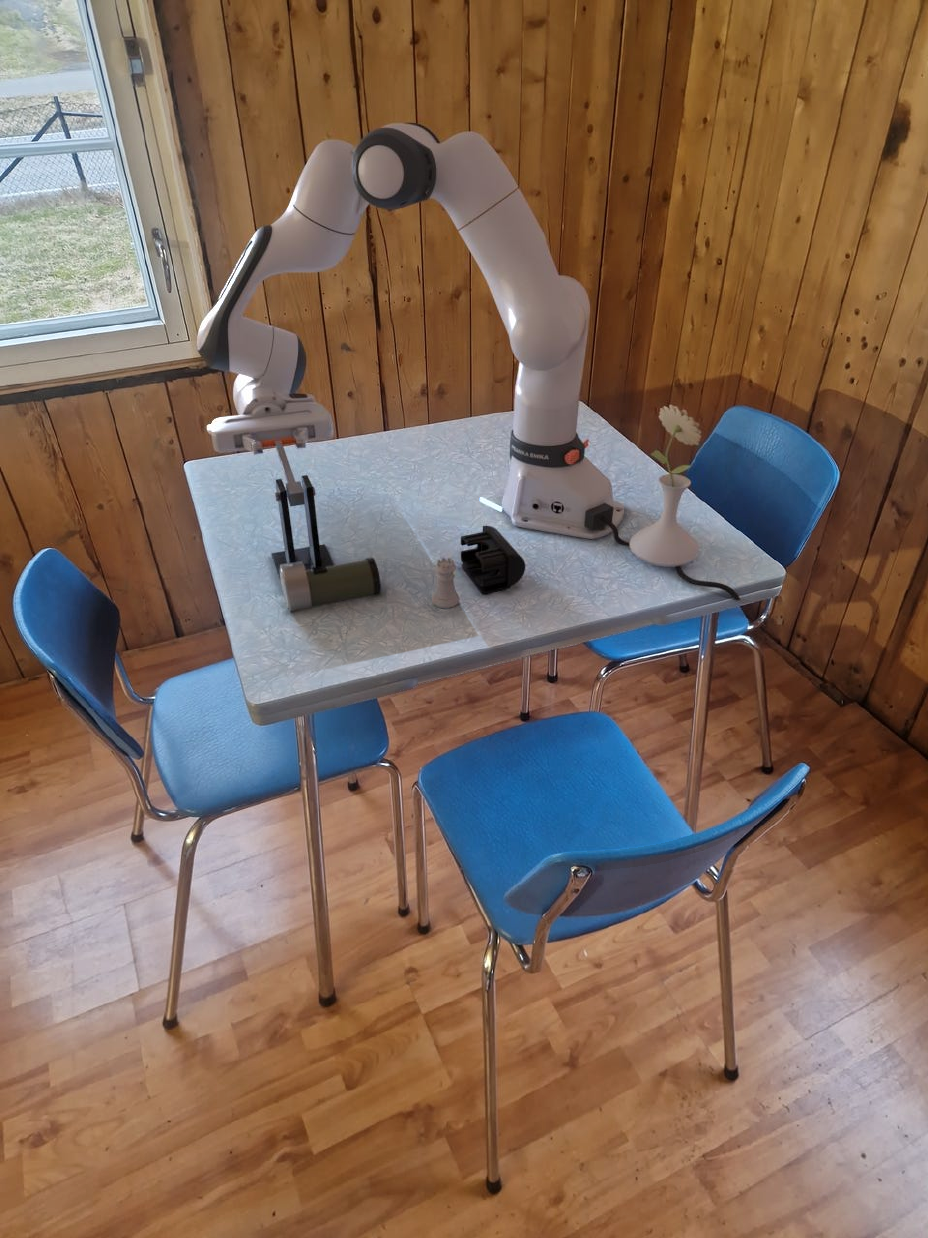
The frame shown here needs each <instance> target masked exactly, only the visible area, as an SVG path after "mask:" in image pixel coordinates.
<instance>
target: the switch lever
mask: <svg viewBox="0 0 928 1238" xmlns="http://www.w3.org/2000/svg"><path fill="white" fill-rule="evenodd" d="M295 443H296V441H295V438H294V437H291V438H283V439H276V440H268V441H261V444H262V449H265V448H266V449H267V448H275V450H276V453H277V456H278V459H279V462H280V465H281V468H282V471H283V474H284V477H285V481H286V483H285V489H286V491H287V499H288V504H289V506H290V507H296V506H303V505H304V504H305V502H304V492H303V488H302V482H301V481H300V480H299V481H298V480H297V481H296V479H295V476H294V474H293V471H292V468H291V465H290V462H289V458H288V456H287V453H286V450H285V447H284V446H288V445H289V446H290V445H295ZM304 506H305V505H304Z"/></svg>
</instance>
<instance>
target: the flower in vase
mask: <svg viewBox="0 0 928 1238" xmlns="http://www.w3.org/2000/svg"><path fill="white" fill-rule="evenodd" d="M659 410H660V411H659V413H658V414H659V415H658V419H659V421H661V424H662V426H663V427H664V428H665V430H666V432H668V433H669V434H670V436H671V437H670V440H669V442H668V444H667V447H666V451H665V455H663V453H661V452H660V450H657V449H655V450H654V451H653V452H651V453H650V456H651V457H653V458H655V459H656V460H657V461H659V462H660V463H661V464H662V465H666V467H667V469H668V472H669V474H668V473H667V474H663V475H661V476H660V477H658V482H659V484H660V486H661V488H662V491H663V507H662V513H661V516H660V518H659V519H658V521H656V522H654V523H652V524H648V525H647V526H644V527H642V528H640V529H639V530H637V531H636V532H635V533H633V535H632V536H631V538H630V540H629V542H628V543H629V545H630V546H629V548H630V550H631V552H632V553H633V555H634V556H635V557H636V558H637V559H639V560H641V561H642V562H645V563H648V564H650V565H654V566H658V567H667V568H671V567H672V568H675V566H680V567H681V566H685V565H687V564H689V563H692V561H694V560H695V559H697V557H698V555H699V554H700V549H699V544H698V542H697V541H696V539H695V537H693V535H692V534H691V533H689V532H688V531H687V530H686V529H685V528H683V526H681V525H680V524H679V523H678V521H677V514H678V507H679V505H680V500H681V498H682V496H683V494H684V492H685V491H686V490H687V489H689V487H690V486H691V484H692V481H691V479H689V478H688V477H686V476H684V475H681V474H680V473H683V472H685V471H687V470H688V469H690V467H691V466H692V464H691V465H689V464H682V465H679V466H677V467H675V468H674V469H672V470H671V466H670V463H669V457H668V456H669V450H670V448H671V445H672V442H673V440H674V438H676V440H677V441H678V442H679V443H683V444H684V445H686V446H688V445H689V446H695V445H696V446H699V445H700V443H699V442H701V439H702V430H700V429H698V428H699V427H700V423H699V422H697V421H695V420H694V418H693V417H692V416H688V411H687V410H686V409H682V410H679V407H678V406H676V405H675V406H674V405H673V404H669V407H668V406H666V405H664V406H663V407H660V408H659Z"/></svg>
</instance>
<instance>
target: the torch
mask: <svg viewBox="0 0 928 1238" xmlns="http://www.w3.org/2000/svg"><path fill="white" fill-rule="evenodd" d="M280 578H281V583H280V585H281V584H282V586H281V589H282V593H283V594H282V595H283V598H284V601H285V604H286V608H287V609H288V610H289V612H290V613H291V612H296V611H301V610H307V609H312V607H317V606H320V605H324V604H325V605H326V604H331V603H336V602H341V601H346V600H347V601H348V600H352V599H356V598H357V599H358V598H363V597H368V596H373V595H378V594H381V589H382V588H381V587H382V585H381V577H380V573H379V568H378V565H377V562H376V560H375V557H372V556H371V557H366V558H365V559H362V560H357V561H351V562H345V563H341V564H333V566H328V567H326V566H320V567H314V568H312V569H311V570H305V567H304V565H303V562H302V561H300V562H294V563H288V564H283V565H280Z"/></svg>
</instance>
